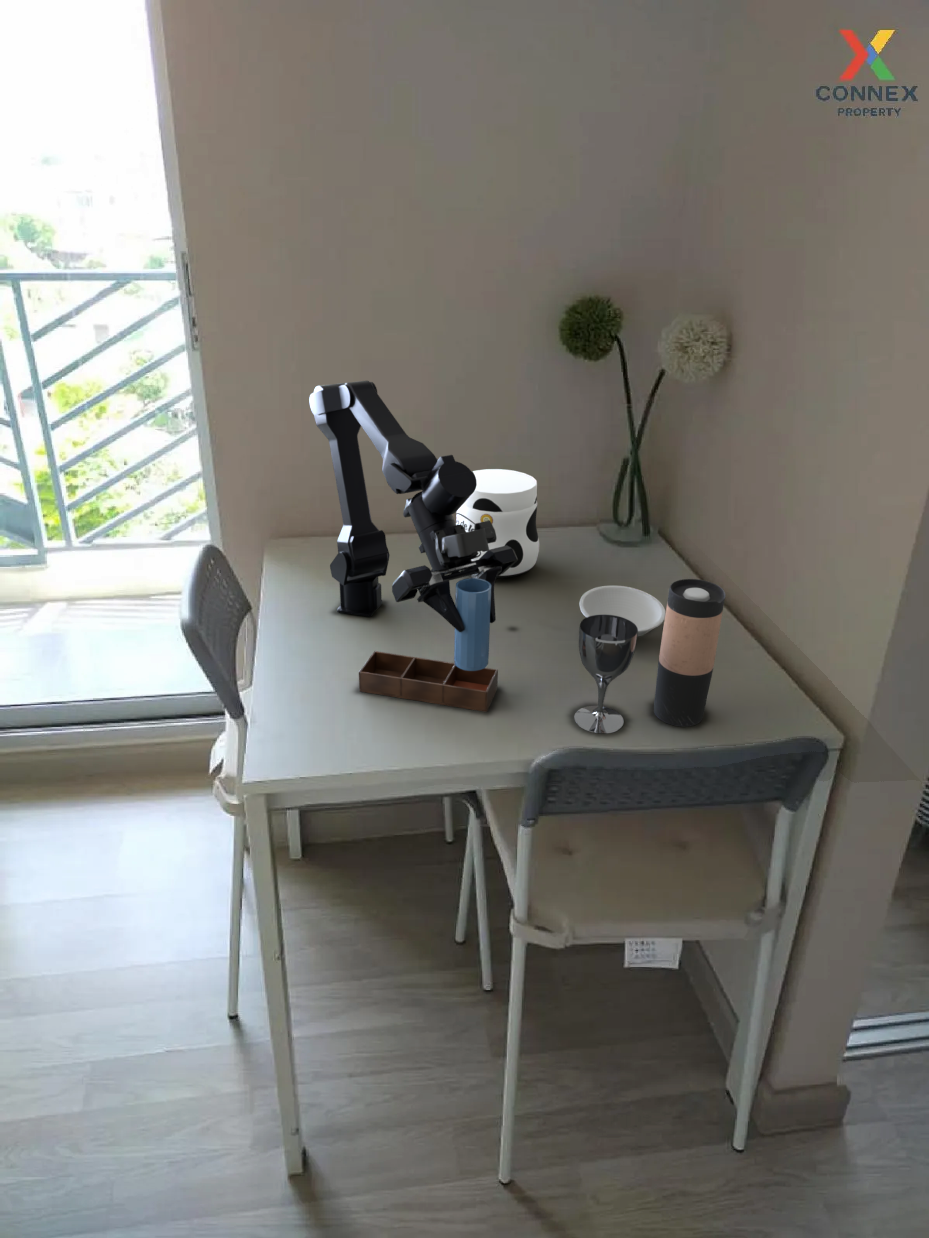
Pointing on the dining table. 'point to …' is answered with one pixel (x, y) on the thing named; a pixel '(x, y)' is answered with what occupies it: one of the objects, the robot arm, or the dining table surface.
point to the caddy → (428, 681)
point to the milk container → (505, 514)
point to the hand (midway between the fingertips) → (477, 626)
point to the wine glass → (604, 665)
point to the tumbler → (473, 624)
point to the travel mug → (688, 651)
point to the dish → (624, 606)
